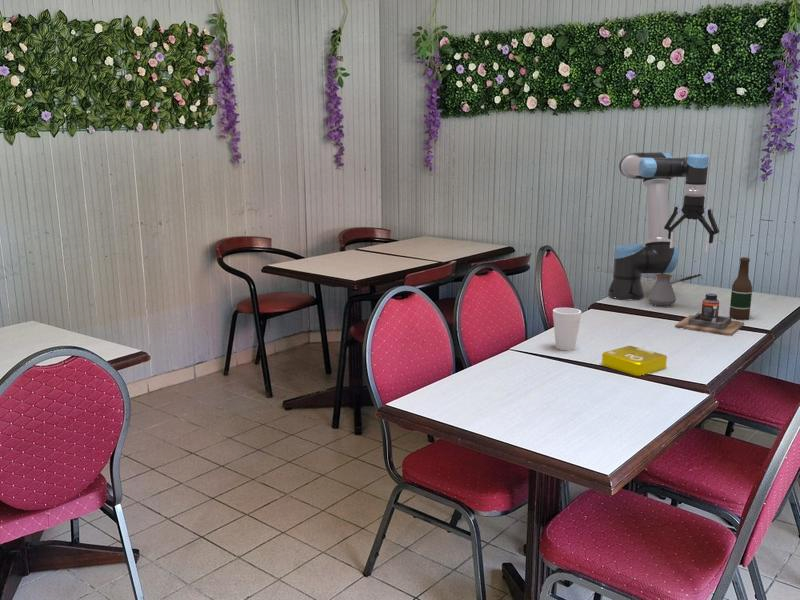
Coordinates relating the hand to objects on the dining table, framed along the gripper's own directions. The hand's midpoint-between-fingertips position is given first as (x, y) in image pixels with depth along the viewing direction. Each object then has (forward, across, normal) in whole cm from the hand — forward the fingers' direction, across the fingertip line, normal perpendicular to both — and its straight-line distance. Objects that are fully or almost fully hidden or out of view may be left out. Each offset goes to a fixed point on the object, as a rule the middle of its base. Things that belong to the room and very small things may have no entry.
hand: (689, 249), depth 294 cm
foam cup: (+25, -19, -71) cm, 78 cm away
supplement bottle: (+25, +13, -12) cm, 31 cm away
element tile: (+25, +6, -78) cm, 82 cm away
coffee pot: (+27, -8, +13) cm, 31 cm away
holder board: (+26, +13, -12) cm, 32 cm away
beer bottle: (+27, +20, +8) cm, 34 cm away
